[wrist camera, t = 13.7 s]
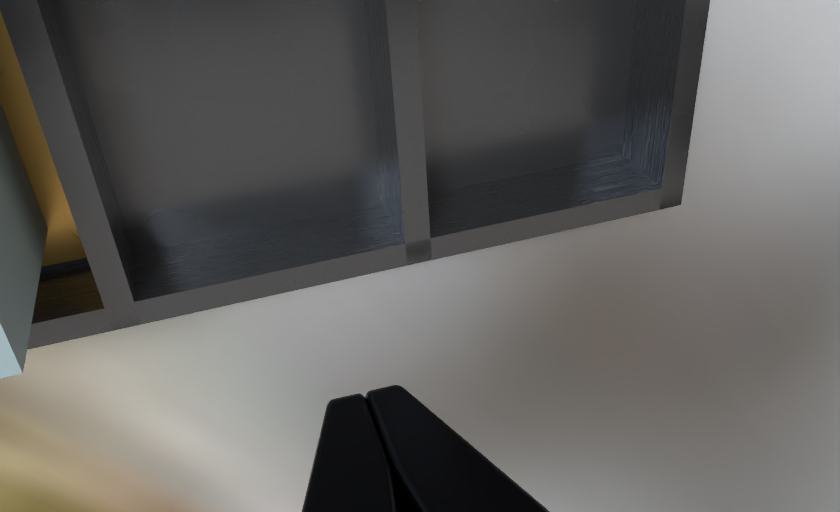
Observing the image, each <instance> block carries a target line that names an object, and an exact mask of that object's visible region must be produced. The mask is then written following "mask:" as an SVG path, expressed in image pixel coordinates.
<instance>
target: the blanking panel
mask: <svg viewBox="0 0 840 512" xmlns="http://www.w3.org/2000/svg"><path fill="white" fill-rule="evenodd" d="M47 232H48V227H47V225H46V222H45V219H44V217H43V214H42V211H41V209H40V206H39V203H38V201H37V198H36V195H35V193H34V190H33V187H32V185H31V182H30V179H29V177H28V174H27V171H26V169H25V166H24V163H23V161H22V158H21V155H20V153H19V150H18V147H17V145H16V142H15V139H14V137H13V134H12V131H11V129H10V126H9V123H8V120H7V118H6V115H5V112H4V110H3V107H2V104H1V102H0V378H4V377H9V376H13V375H17V374H22V373H23V369H24V363H25V357H26V352H27V346H28V340H29V335H30V329H31V323H32V317H33V312H34V306H35V300H36V295H37V289H38V283H39V278H40V272H41V266H42V260H43V255H44V249H45V243H46V238H47Z"/></svg>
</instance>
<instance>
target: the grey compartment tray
mask: <svg viewBox="0 0 840 512" xmlns="http://www.w3.org/2000/svg"><path fill="white" fill-rule="evenodd" d="M709 3H710V0H0V102H1V104H2V107H3V110H4V112H5V115H6V118H7V120H8V123H9V126H10V129H11V131H12V134H13V137H14V139H15V142H16V145H17V147H18V150H19V153H20V155H21V158H22V161H23V163H24V166H25V169H26V171H27V174H28V177H29V179H30V182H31V185H32V187H33V190H34V193H35V195H36V198H37V201H38V203H39V206H40V209H41V211H42V214H43V217H44V219H45V222H46V225H47V227H48V232H47V238H46V243H45V249H44V255H43V260H42V266H41V272H40V278H39V283H38V289H37V295H36V300H35V306H34V312H33V317H32V323H31V329H30V335H29V340H28V346H27V349H32V348H36V347H41V346H45V345H50V344H54V343H59V342H63V341H68V340H72V339H77V338H81V337H86V336H90V335H95V334H99V333H104V332H108V331H113V330H117V329H122V328H126V327H131V326H135V325H140V324H145V323H149V322H154V321H158V320H163V319H167V318H172V317H176V316H181V315H185V314H190V313H194V312H199V311H203V310H208V309H212V308H217V307H221V306H226V305H230V304H235V303H239V302H244V301H248V300H253V299H257V298H262V297H266V296H271V295H275V294H280V293H284V292H289V291H294V290H298V289H303V288H307V287H312V286H316V285H321V284H325V283H330V282H334V281H339V280H343V279H348V278H352V277H357V276H361V275H366V274H370V273H375V272H379V271H384V270H388V269H393V268H397V267H402V266H406V265H411V264H415V263H420V262H424V261H429V260H433V259H438V258H443V257H447V256H452V255H456V254H461V253H465V252H470V251H474V250H479V249H483V248H488V247H492V246H497V245H501V244H506V243H510V242H515V241H519V240H524V239H528V238H533V237H537V236H542V235H546V234H551V233H555V232H560V231H564V230H569V229H573V228H578V227H582V226H587V225H591V224H596V223H601V222H605V221H610V220H614V219H619V218H623V217H628V216H632V215H637V214H641V213H646V212H650V211H655V210H659V209H664V208H668V207H673V206H677V205H681V199H682V192H683V185H684V178H685V171H686V164H687V157H688V150H689V143H690V136H691V129H692V122H693V115H694V108H695V101H696V94H697V87H698V80H699V73H700V66H701V59H702V52H703V45H704V38H705V31H706V24H707V17H708V10H709Z"/></svg>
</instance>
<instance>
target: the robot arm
mask: <svg viewBox="0 0 840 512" xmlns="http://www.w3.org/2000/svg"><path fill="white" fill-rule="evenodd" d="M302 512H550V511H548V510H547V509H546V508H545V507H544V506H542V505H541V504H540V503H539V502H538V501H536V500H535V499H534V498H533V497H532V496H531V495H529V494H528V493H527V492H526V491H525V490H523V489H522V488H521V487H520V486H519V485H518V484H516V483H515V482H514V481H513V480H512V479H510V478H509V477H508V476H507V475H506V474H505V473H503V472H502V471H501V470H500V469H499V468H497V467H496V466H495V465H494V464H493V463H492V462H490V461H489V460H488V459H487V458H486V457H484V456H483V455H482V454H481V453H480V452H479V451H477V450H476V449H475V448H474V447H473V446H471V445H470V444H469V443H468V442H467V441H466V440H464V439H463V438H462V437H461V436H460V435H458V434H457V433H456V432H455V431H454V430H453V429H451V428H450V427H449V426H448V425H447V424H445V423H444V422H443V421H442V420H441V419H440V418H438V417H437V416H436V415H435V414H434V413H432V412H431V411H430V410H429V409H428V408H427V407H425V406H424V405H423V404H422V403H421V402H419V401H418V400H417V399H416V398H415V397H414V396H412V395H411V394H410V393H409V392H408V391H406V390H405V389H404V388H403V387H401V386H398V385H393V386H389V387H385V388H380V389H376V390H371V391H369V392H368V393H367V394H366V396H365V397H364V396H363V395H362V394H354V395H350V396H345V397H341V398H337V399H333V400H331V401H330V402H329V403H328V405H327V408H326V412H325V416H324V420H323V425H322V429H321V433H320V437H319V441H318V446H317V450H316V454H315V458H314V463H313V467H312V471H311V475H310V479H309V484H308V488H307V492H306V496H305V501H304V505H303V509H302Z"/></svg>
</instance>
